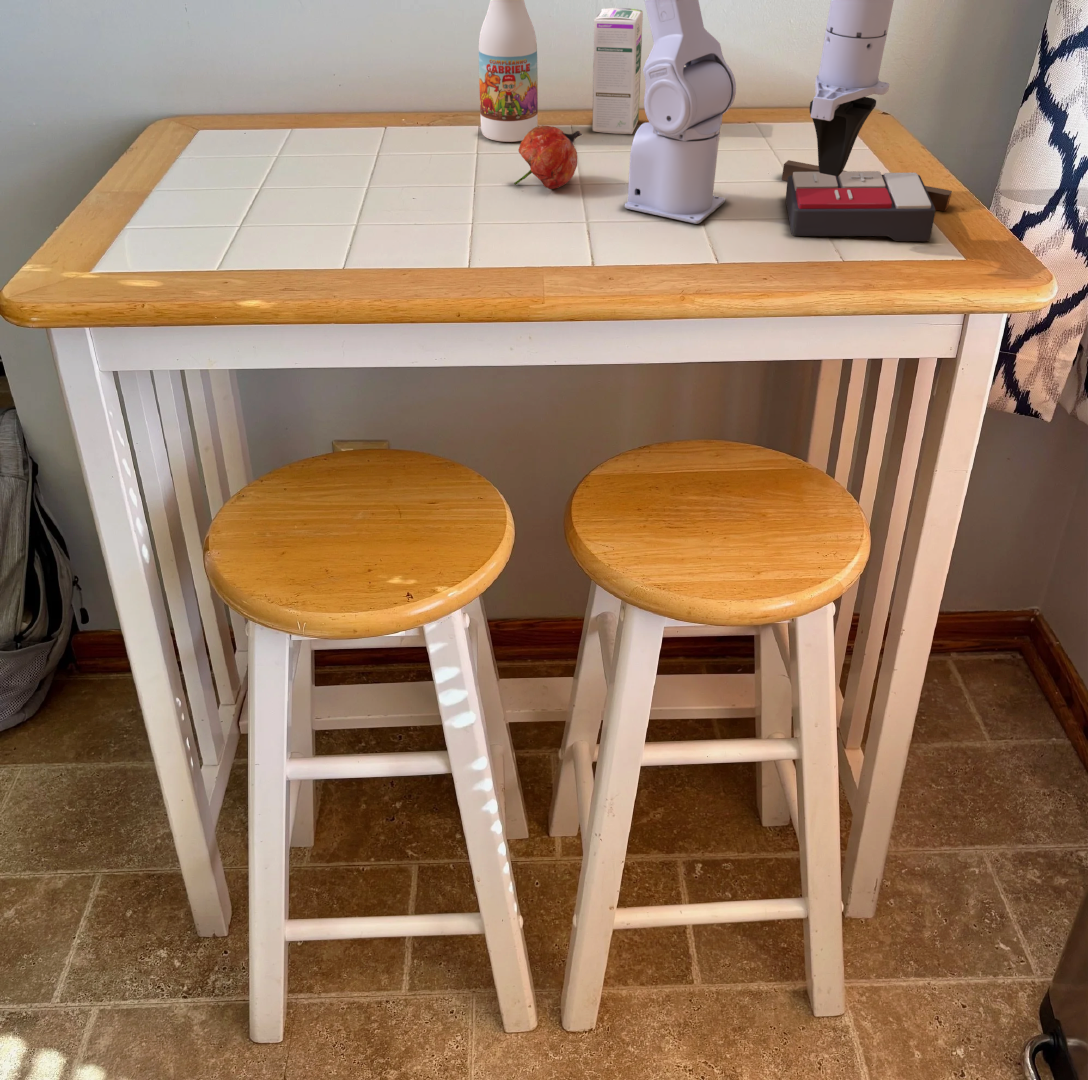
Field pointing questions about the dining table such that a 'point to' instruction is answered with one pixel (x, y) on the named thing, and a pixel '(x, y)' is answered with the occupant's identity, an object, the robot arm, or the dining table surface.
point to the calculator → (860, 205)
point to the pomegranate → (550, 155)
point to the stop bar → (937, 195)
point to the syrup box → (617, 70)
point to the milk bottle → (508, 72)
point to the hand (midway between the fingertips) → (830, 172)
